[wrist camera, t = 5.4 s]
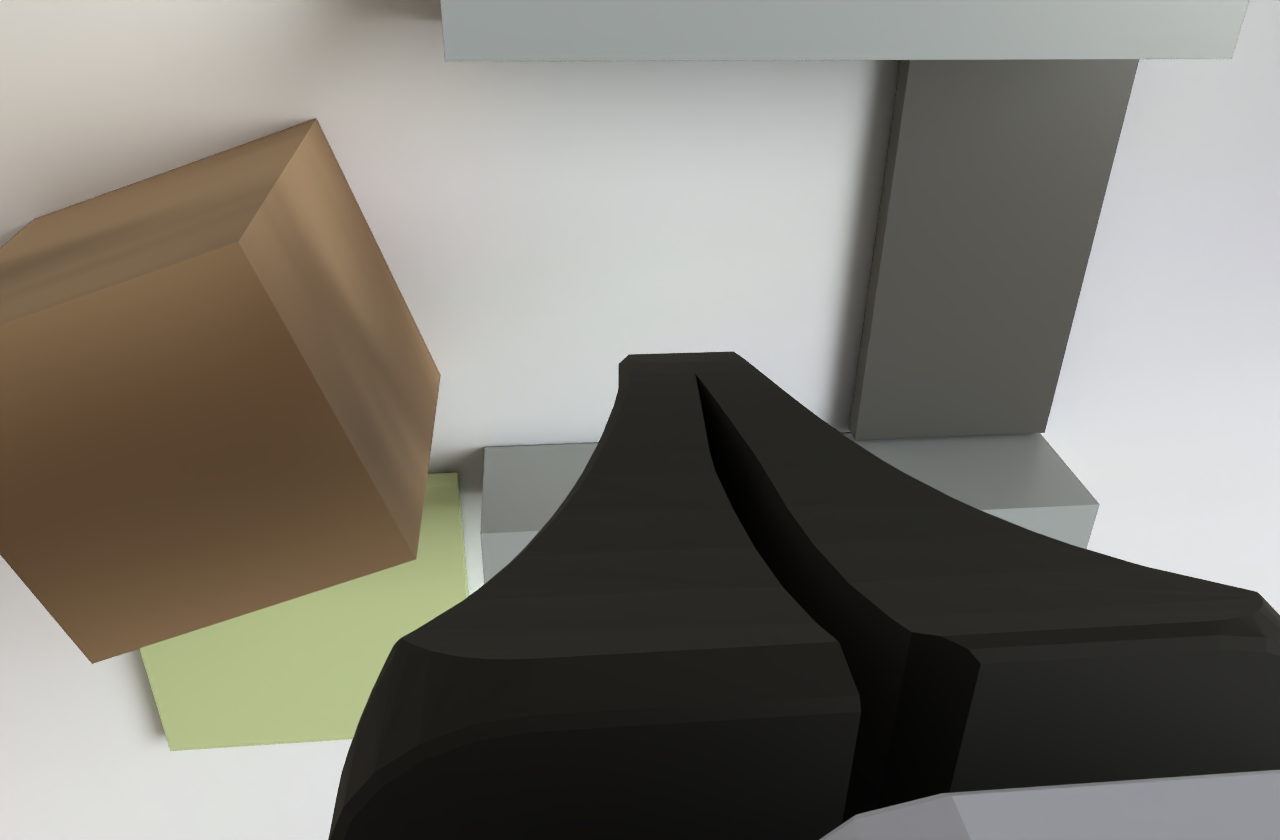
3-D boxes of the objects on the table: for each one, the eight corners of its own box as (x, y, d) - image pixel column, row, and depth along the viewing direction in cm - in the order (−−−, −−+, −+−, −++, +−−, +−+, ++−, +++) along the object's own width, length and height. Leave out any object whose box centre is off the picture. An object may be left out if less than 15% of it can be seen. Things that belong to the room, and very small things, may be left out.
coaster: (478, 715, 21) (478, 730, 21) (176, 735, 21) (170, 751, 20) (457, 472, 18) (456, 485, 18) (102, 487, 18) (94, 500, 17)
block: (440, 373, 17) (416, 559, 13) (194, 455, 18) (92, 663, 13) (317, 117, 15) (238, 242, 11) (36, 217, 15) (-150, 377, 11)
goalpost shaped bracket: (1022, 471, 20) (1085, 553, 17) (487, 494, 19) (484, 584, 16) (1150, -50, 15) (1257, -26, 13) (449, -55, 14) (438, -31, 12)
